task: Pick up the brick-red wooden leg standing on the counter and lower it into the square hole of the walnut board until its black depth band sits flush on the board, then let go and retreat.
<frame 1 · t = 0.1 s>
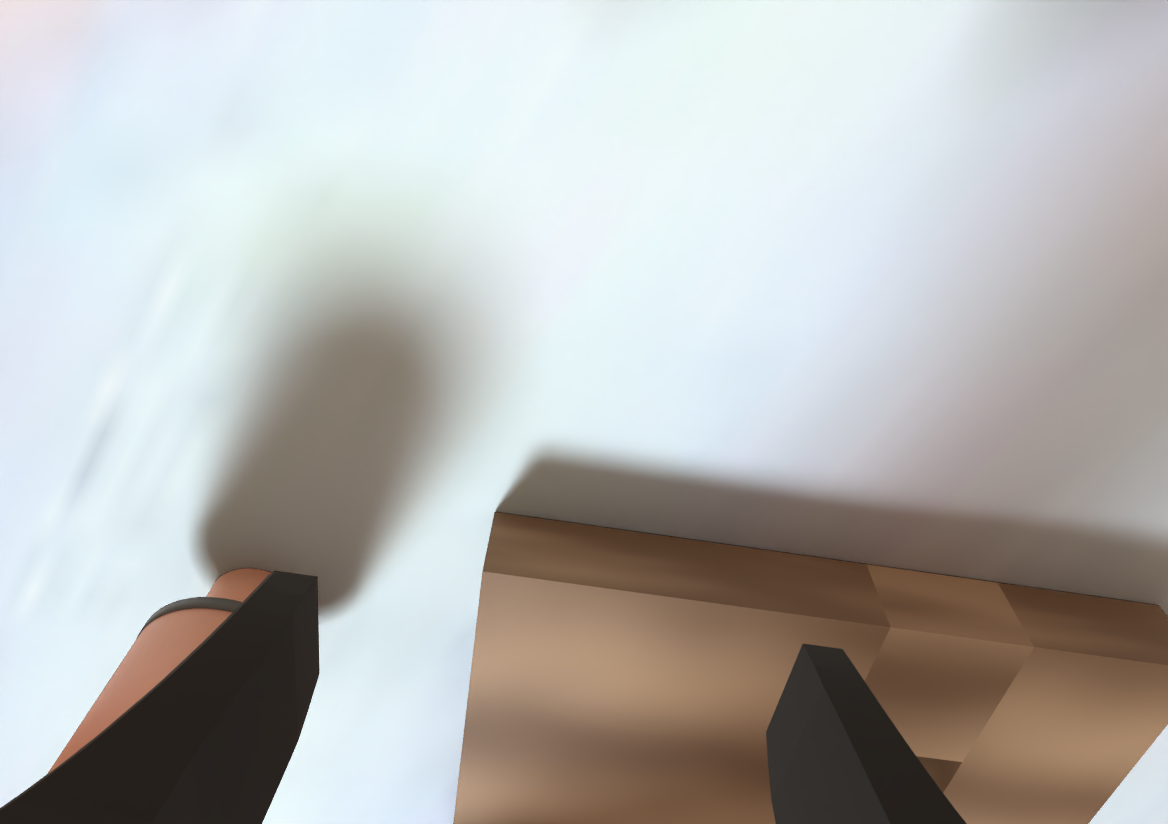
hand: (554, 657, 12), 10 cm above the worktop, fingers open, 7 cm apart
peg: (259, 604, 26), on the worktop
board: (769, 715, 28), on the worktop
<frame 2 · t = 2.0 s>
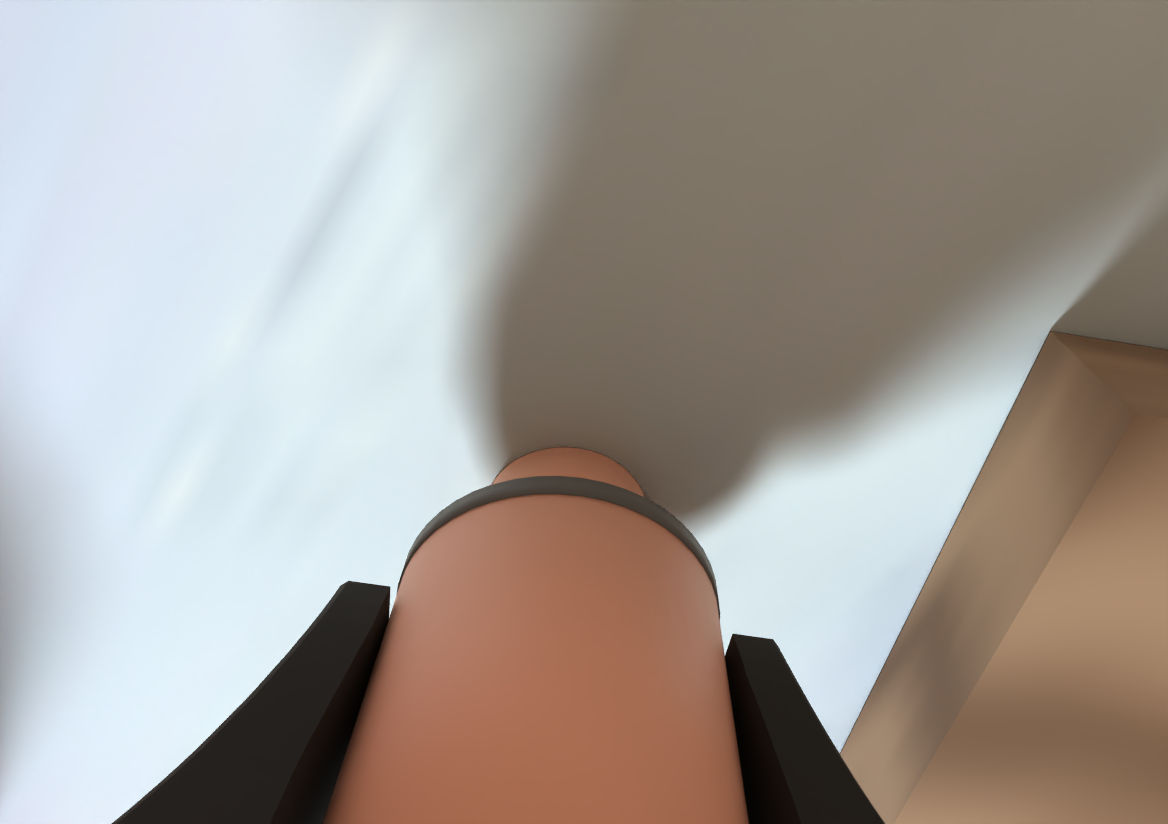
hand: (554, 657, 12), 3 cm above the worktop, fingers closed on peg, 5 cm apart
peg: (566, 514, 15), on the worktop, touching gripper
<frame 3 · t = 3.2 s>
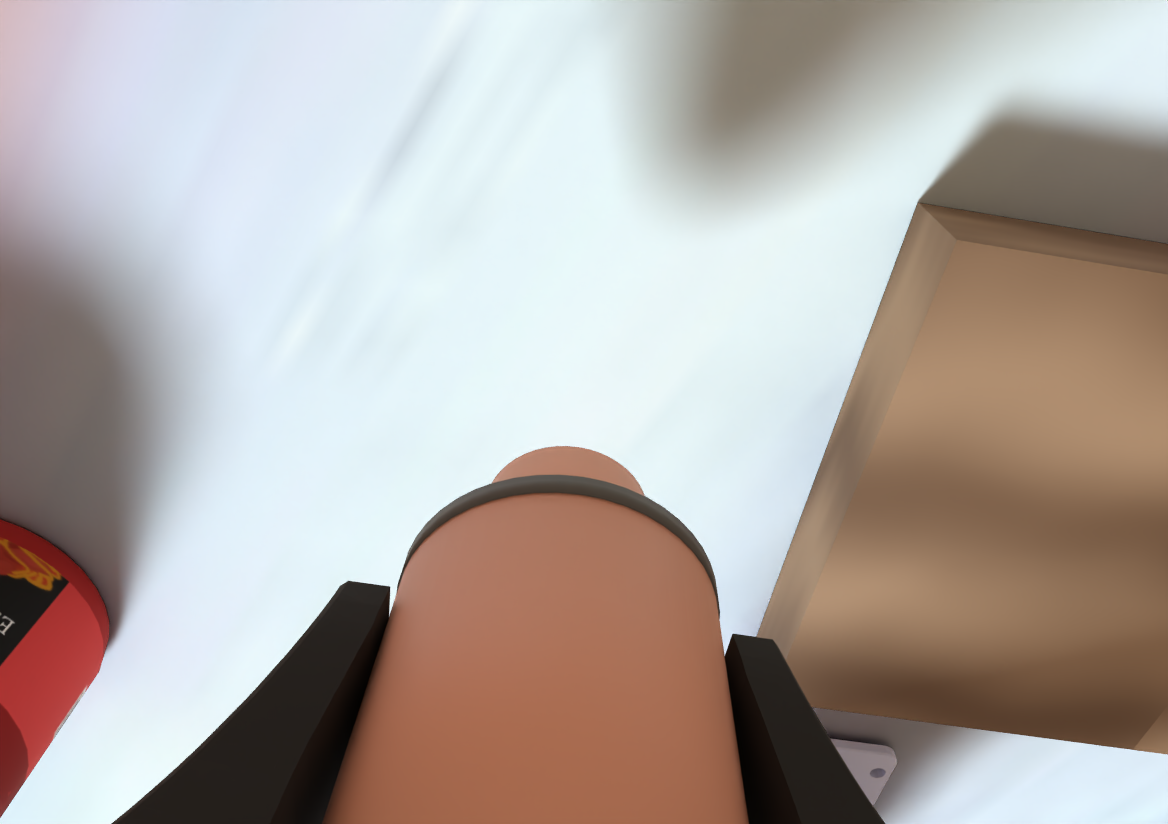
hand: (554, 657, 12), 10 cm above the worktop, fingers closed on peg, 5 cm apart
peg: (566, 513, 15), point 7 cm above the worktop, touching gripper
canned food: (0, 596, 26), on the worktop
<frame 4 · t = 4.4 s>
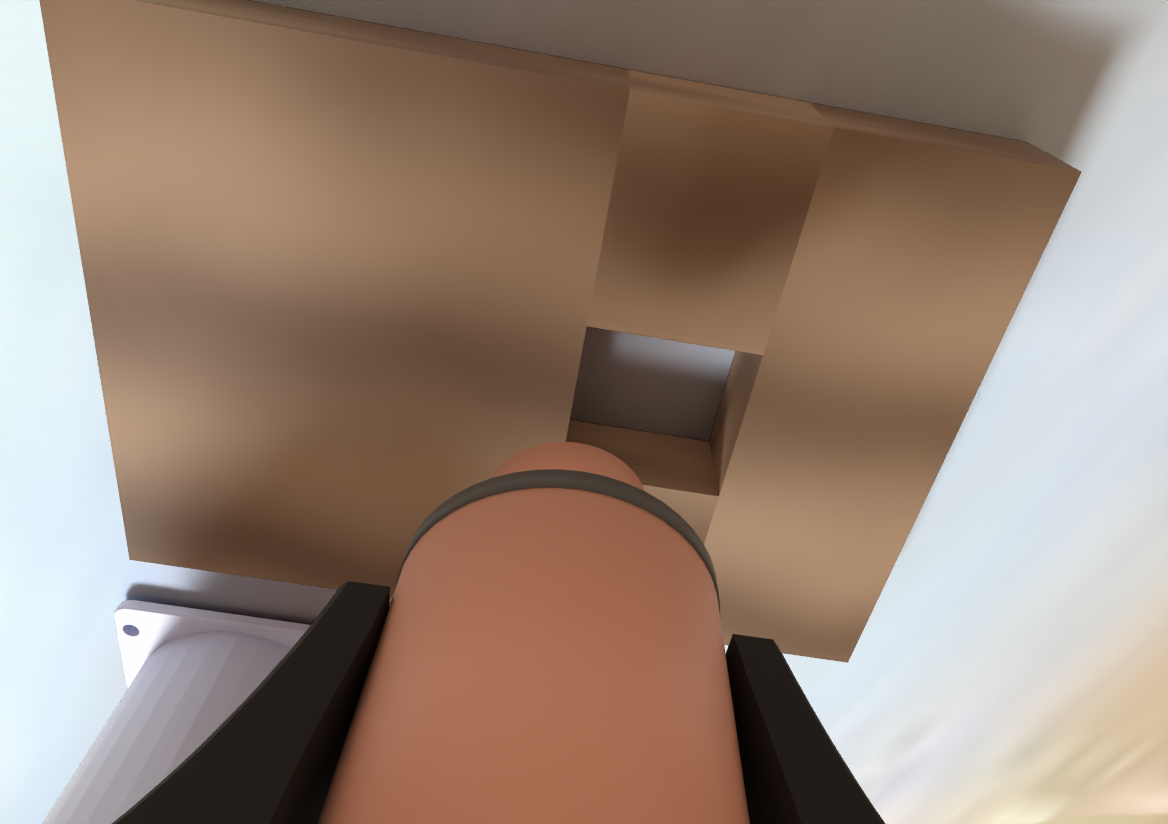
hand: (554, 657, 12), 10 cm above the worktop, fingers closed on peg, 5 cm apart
peg: (566, 510, 15), point 7 cm above the worktop, touching gripper
board: (538, 348, 21), on the worktop
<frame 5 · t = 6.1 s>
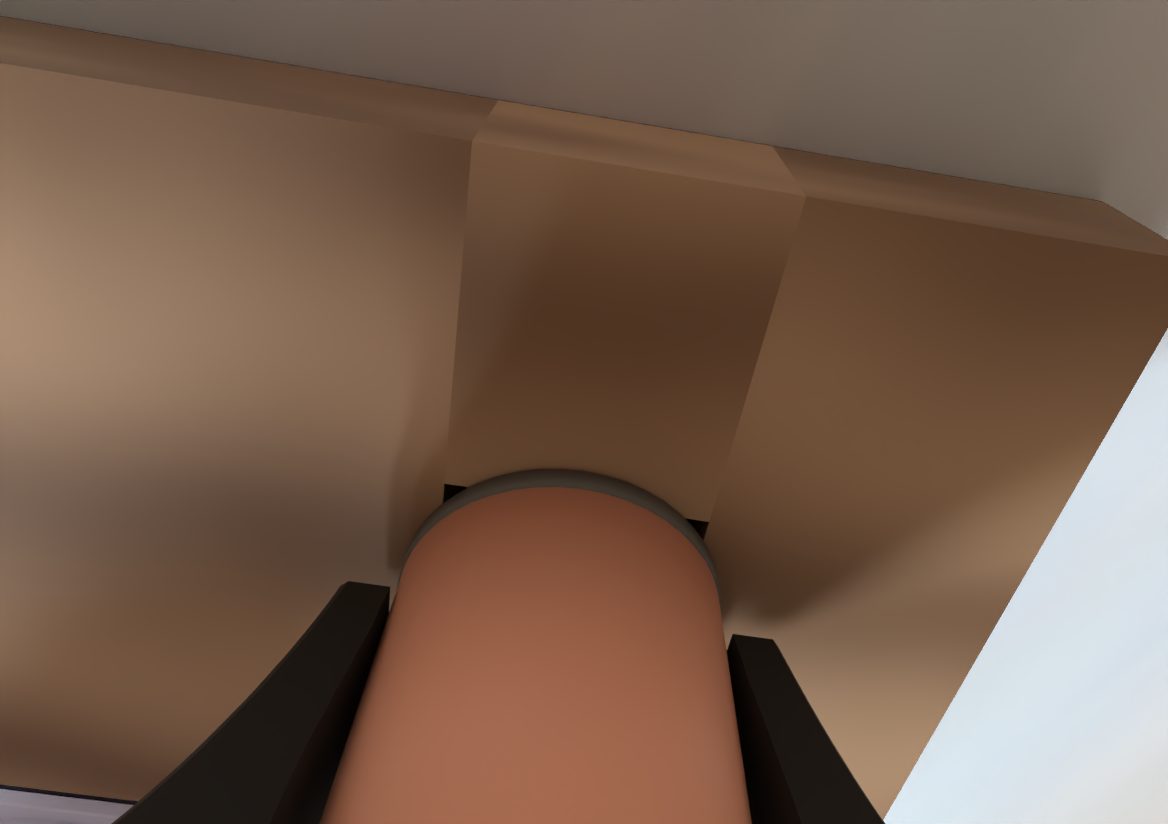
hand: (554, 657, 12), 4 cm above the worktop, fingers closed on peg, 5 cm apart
peg: (567, 509, 15), resting in board, touching gripper
board: (407, 482, 15), on the worktop
when the fingers open (4 cm above the worktop, at t = 7.2 s): peg stays where it is, resting on board.
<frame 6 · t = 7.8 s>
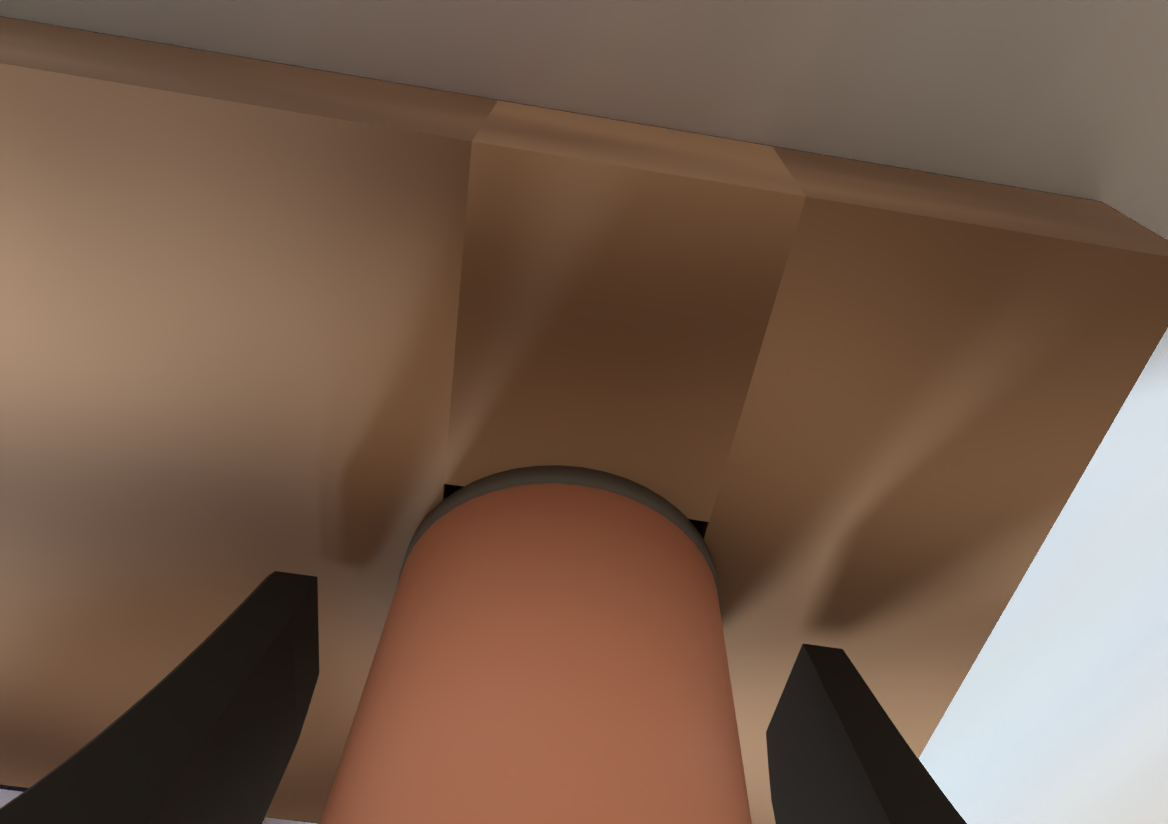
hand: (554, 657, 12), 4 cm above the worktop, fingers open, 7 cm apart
peg: (566, 506, 15), resting on board
board: (407, 482, 15), on the worktop
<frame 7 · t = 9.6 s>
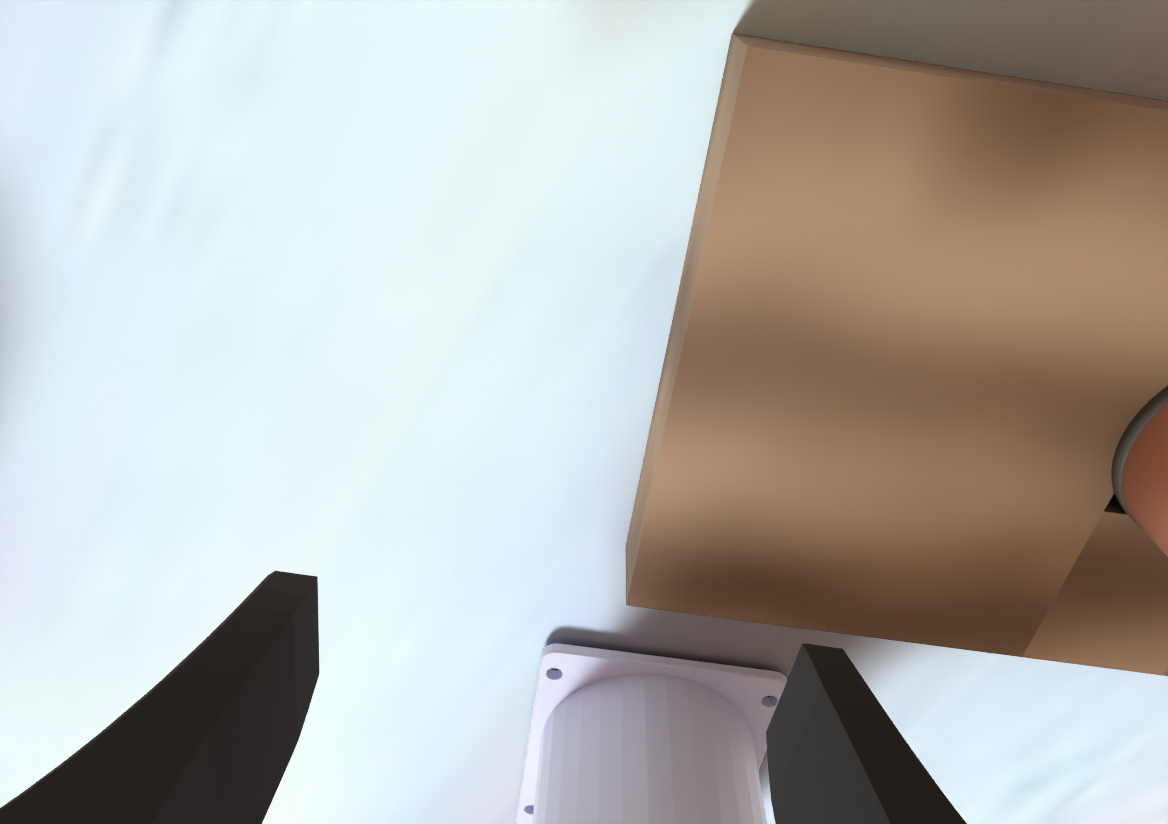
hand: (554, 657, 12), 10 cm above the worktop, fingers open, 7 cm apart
board: (1051, 386, 21), on the worktop
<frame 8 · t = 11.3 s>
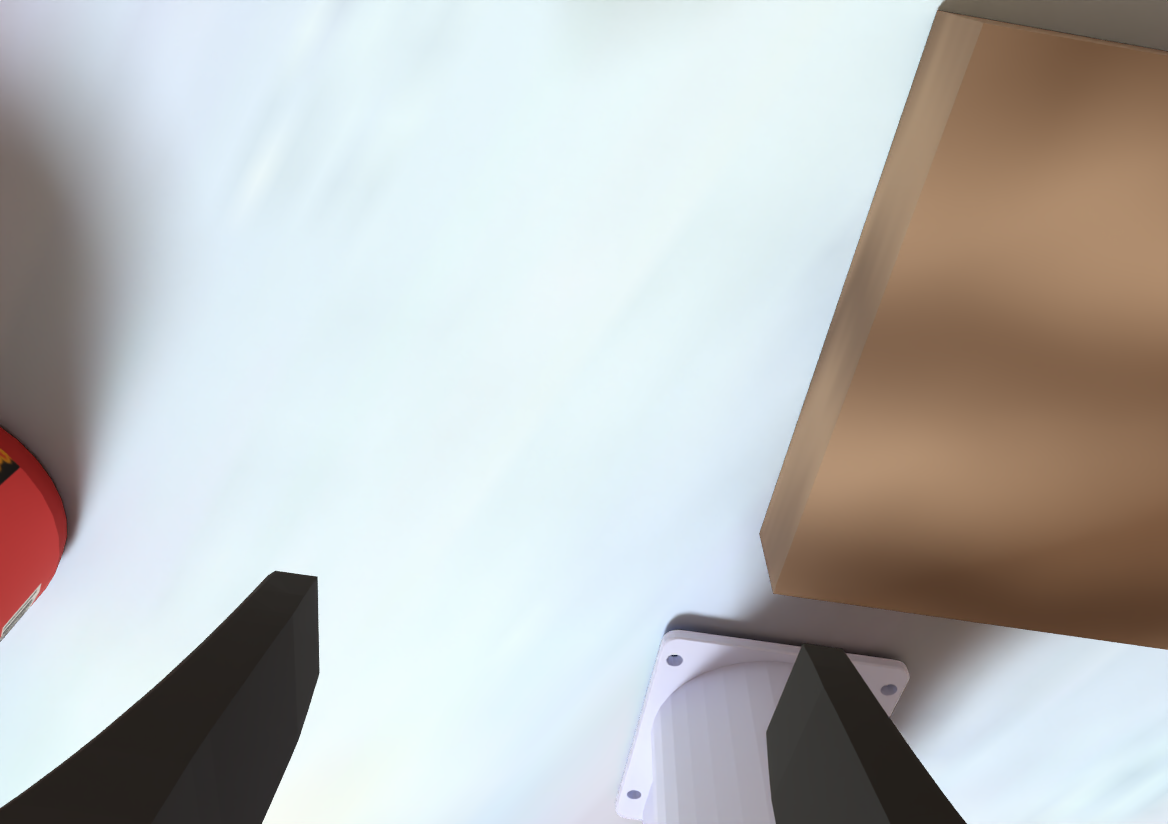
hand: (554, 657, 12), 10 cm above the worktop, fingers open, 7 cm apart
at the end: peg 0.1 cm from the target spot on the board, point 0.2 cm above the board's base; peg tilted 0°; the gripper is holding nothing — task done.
